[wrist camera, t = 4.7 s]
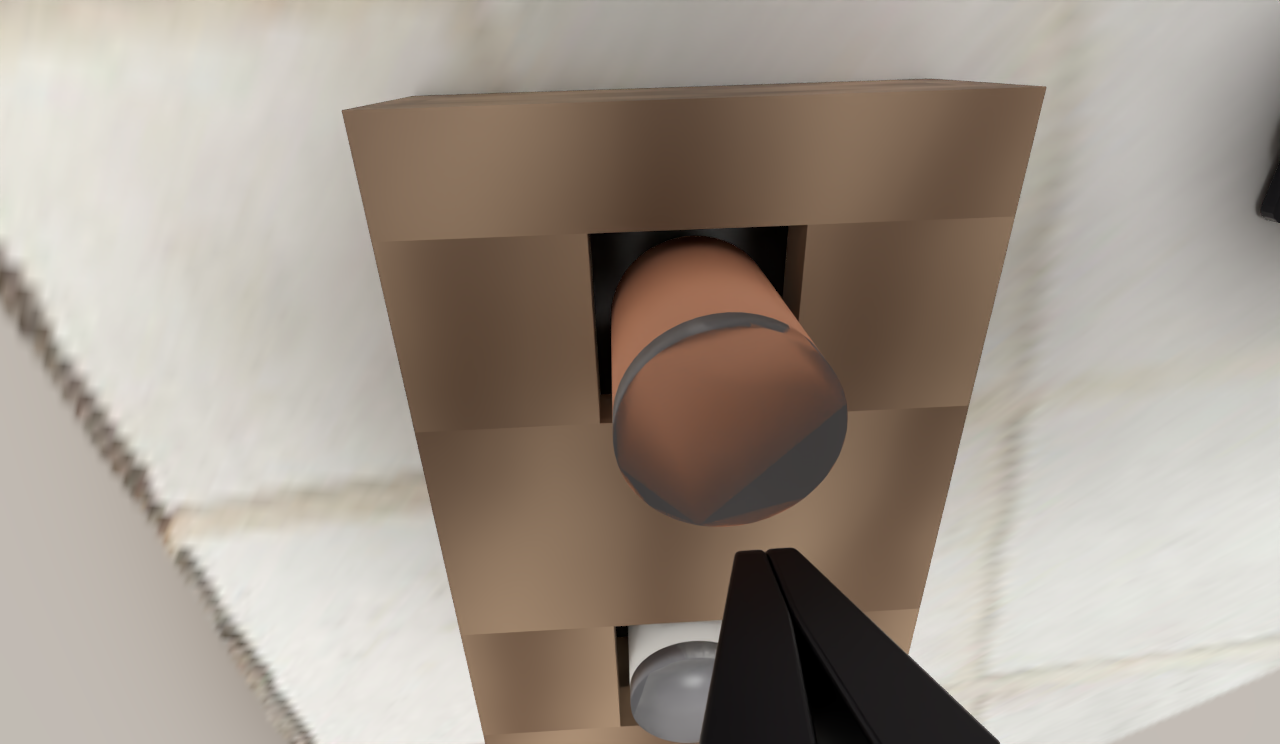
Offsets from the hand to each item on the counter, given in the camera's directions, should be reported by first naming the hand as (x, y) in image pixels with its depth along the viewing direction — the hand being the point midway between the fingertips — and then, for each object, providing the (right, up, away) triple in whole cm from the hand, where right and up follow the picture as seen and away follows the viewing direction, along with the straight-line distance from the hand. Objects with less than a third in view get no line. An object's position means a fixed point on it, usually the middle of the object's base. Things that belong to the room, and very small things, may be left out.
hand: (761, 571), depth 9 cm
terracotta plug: (0, +4, +7) cm, 8 cm away
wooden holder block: (0, +1, +13) cm, 13 cm away
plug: (0, -5, +15) cm, 16 cm away
